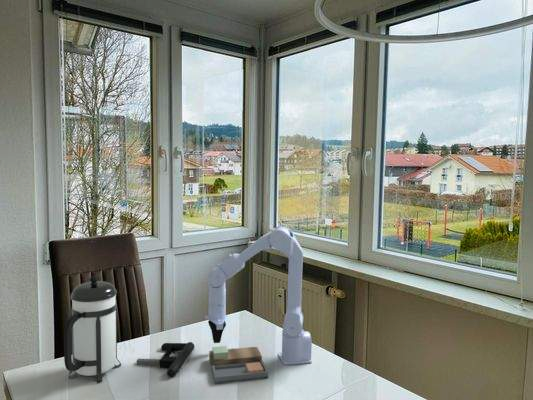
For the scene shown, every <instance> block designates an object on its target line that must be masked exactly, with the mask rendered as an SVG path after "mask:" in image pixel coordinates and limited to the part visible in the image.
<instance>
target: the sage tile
mask: <svg viewBox="0 0 533 400" xmlns="http://www.w3.org/2000/svg"><path fill="white" fill-rule="evenodd" d="M227 349H228V347H227V345H222V346H212V349H211V351H212V354H213V358H214V360H215V359H225V358H228V350H227Z"/></svg>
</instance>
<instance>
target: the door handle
mask: <svg viewBox="0 0 533 400" xmlns="http://www.w3.org/2000/svg"><path fill="white" fill-rule="evenodd" d="M160 350H161V351H162V352H164V354H163V355H162V357H160V358H138V359H137V360H136V363H135V364H136V366H144V367H145V366H146V367H159V369H165V370H166V369H167V371H166V375H167V376H168V377H169V378H174V377H175V376H176V375H177V374H178V373H179V372H180V373H181V370H182V369H183V368H184V366H185V365H186V363H187V362H188V360H189V358H191V354H192V352H193V351H194V350H195V344H194V342H192V341H188V342H187V343H186V342H184V343H181V342H164V343H162V345H161V349H160ZM172 353H173V354H174V355H176V354H178V355H177V356H171V355H172Z"/></svg>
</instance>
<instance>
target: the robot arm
mask: <svg viewBox="0 0 533 400" xmlns="http://www.w3.org/2000/svg"><path fill="white" fill-rule="evenodd" d="M272 248H273V249H275V250H277V251H278V252H281V253H283V255H285V256H286V257H287V258H288V270H287V271H288V272H287V274H288V275H287V295H286V297H287V299H286V300H287V301H286V305H287V306H286V311H285V312H286V313H285V316H284V322H283V324H282V331H281V333H282V334H281V335H282V336H281V339H282V340H281V352H277V355H278V357H279V358H280V360H281V362H282V364H283V365H285V366H289V365H299V364H308V363H312V362H313V360H312V345H313V344H312V343H313V342H312V336H311V333H310V331H308V330H307V331H305V330H304V329H303V325H304V324H303V322H304V314H303V312H302V287H303V262H304V260H303V259H304V251H303V247H302V246H301V245H300V243H299V242H298V240H297V238H296V236H295V234H294V232H292V230H290V229H289V228H288V227H286V226H284V225H279V226H277V227H275V228H274V229H273V230H270V231H268V232H267V233H265V234H264V235H262V236H261V237H259V238H258V239H257V240H255V241H254V242H253V243H252V244H250V245H249V246H248V247H247V248H246V249H244V250H243V251H242V252H241V253H232V254H231V253H229V255H227V256H226V259H225V260H224V261H222V262H221V263H218V264H216V265H215V266H216V267H214V268H213V269H211V270H210V272H208V273H207V277H206V281H207V283H208V315H207V314H206V315H204V319H205V320H208V321H207V323H208V326H209V328H210V331H211V336H212V342H213V343H214V344H218V343H219V344H220V343H221V340H222V335H223V331H225V328H226V326H227V323H226V319H227V314H226V311H227V310H226V306H227V303H226V301H227V296H226V295H227V288H226V281H227V280H228V279H231V278H232V277H233V276H235V275H236V274H237V273H239V272H240V271H241V270H243V269H244V268H245V265H246V264H245V263H246V262H247V261H249V260H250V259H251V258H252V257H255V255H257V254H258V253H260V252H261V251H263V250H272Z"/></svg>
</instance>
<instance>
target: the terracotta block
mask: <svg viewBox="0 0 533 400" xmlns="http://www.w3.org/2000/svg"><path fill="white" fill-rule="evenodd" d="M262 371H263V367H262V365H261V364H260V362H257V363H248V364H246V372H247V373H253V372H262Z"/></svg>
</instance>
